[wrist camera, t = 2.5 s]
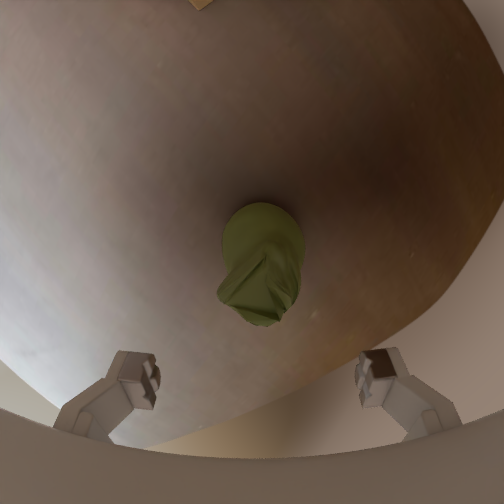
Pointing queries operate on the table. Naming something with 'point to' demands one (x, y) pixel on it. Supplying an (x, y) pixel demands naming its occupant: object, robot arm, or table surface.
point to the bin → (199, 3)
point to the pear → (261, 263)
